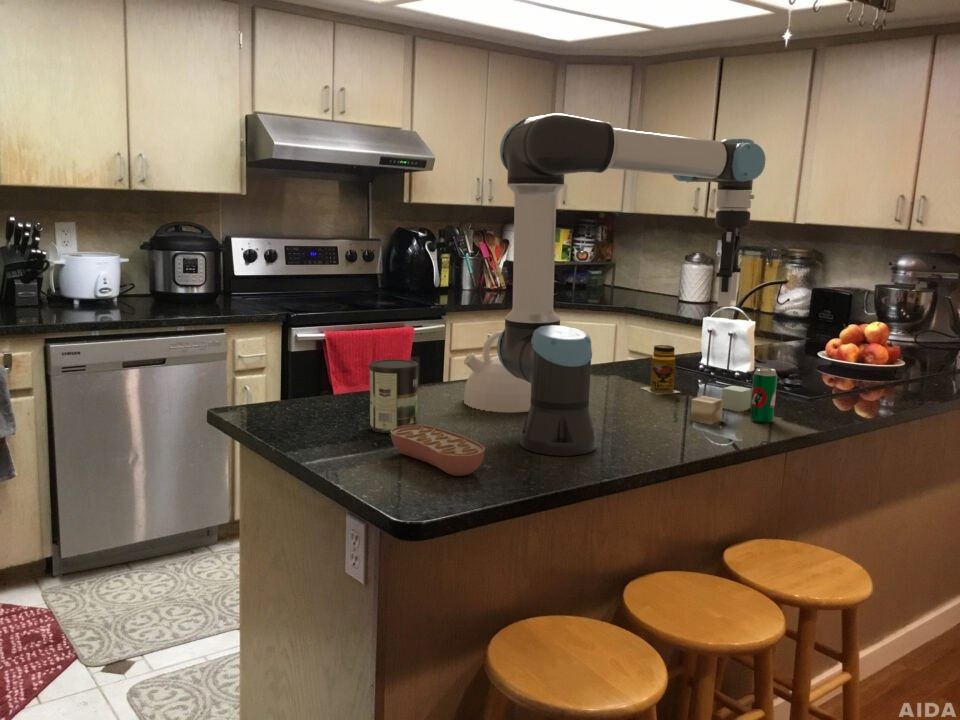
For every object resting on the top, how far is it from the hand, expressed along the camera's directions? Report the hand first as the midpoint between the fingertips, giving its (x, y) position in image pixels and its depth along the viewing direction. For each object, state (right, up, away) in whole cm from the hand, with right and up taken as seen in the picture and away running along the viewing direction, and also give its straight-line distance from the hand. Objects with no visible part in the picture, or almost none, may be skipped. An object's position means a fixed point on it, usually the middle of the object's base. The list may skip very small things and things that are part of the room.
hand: (726, 303), depth 194 cm
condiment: (-10, -21, +27) cm, 36 cm away
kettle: (-51, -24, +10) cm, 57 cm away
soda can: (+7, -27, -2) cm, 28 cm away
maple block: (-6, -27, -3) cm, 28 cm away
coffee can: (-75, -28, -14) cm, 82 cm away
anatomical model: (-65, -33, -38) cm, 82 cm away
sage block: (+5, -25, +9) cm, 27 cm away
